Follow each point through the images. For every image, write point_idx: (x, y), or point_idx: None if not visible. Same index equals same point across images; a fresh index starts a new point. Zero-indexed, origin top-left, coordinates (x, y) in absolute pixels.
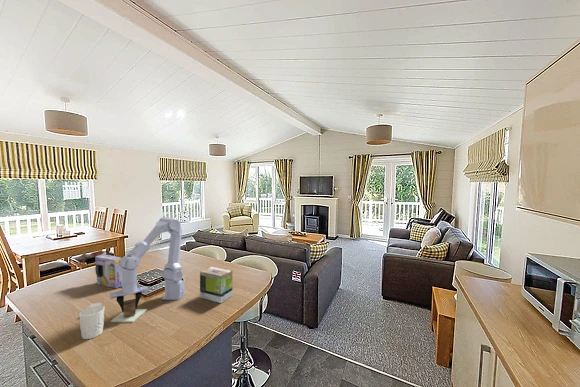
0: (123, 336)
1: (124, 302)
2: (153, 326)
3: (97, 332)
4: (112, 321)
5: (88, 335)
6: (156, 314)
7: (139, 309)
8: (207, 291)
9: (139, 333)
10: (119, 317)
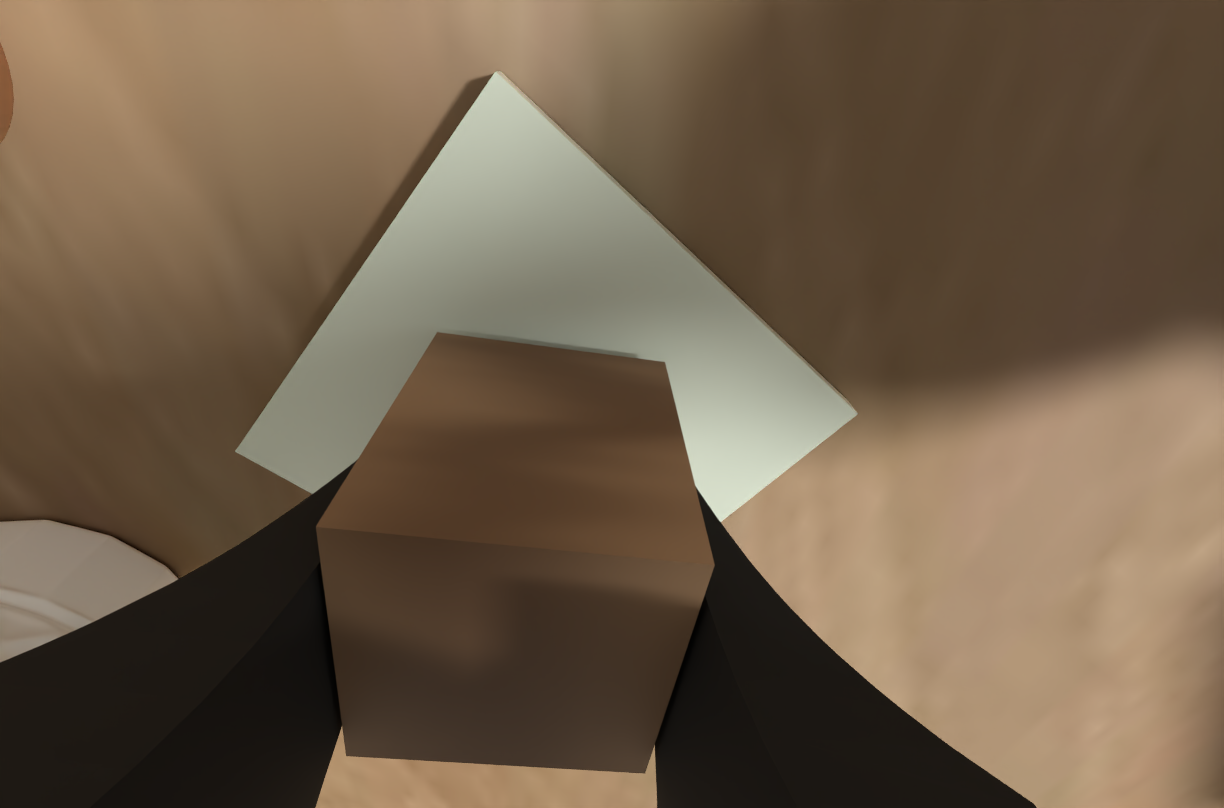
0: (465, 778)
1: (348, 637)
2: None
3: None
4: (270, 456)
5: None
6: (892, 595)
7: (741, 329)
8: None
9: (606, 800)
10: (367, 426)
